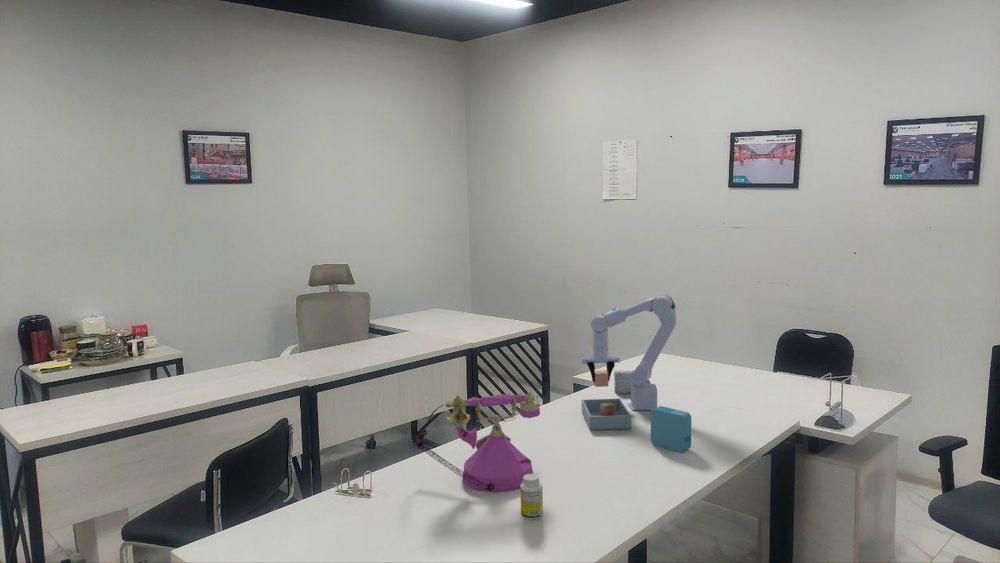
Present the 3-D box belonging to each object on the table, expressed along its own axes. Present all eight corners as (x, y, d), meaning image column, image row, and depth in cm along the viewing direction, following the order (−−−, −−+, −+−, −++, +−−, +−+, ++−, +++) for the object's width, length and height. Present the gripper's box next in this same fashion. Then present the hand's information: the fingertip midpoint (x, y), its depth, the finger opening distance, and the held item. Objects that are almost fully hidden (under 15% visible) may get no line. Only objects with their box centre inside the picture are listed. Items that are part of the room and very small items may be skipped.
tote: (619, 411, 239) (619, 398, 238) (631, 429, 220) (631, 415, 219) (581, 412, 239) (581, 399, 238) (589, 430, 220) (589, 416, 219)
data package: (691, 449, 201) (691, 412, 200) (684, 453, 198) (684, 416, 197) (657, 440, 210) (657, 405, 208) (650, 444, 206) (650, 408, 205)
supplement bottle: (529, 508, 165) (529, 470, 164) (547, 514, 162) (546, 475, 160) (516, 516, 161) (515, 477, 160) (534, 523, 157) (533, 483, 156)
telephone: (532, 459, 197) (531, 379, 194) (551, 490, 175) (550, 402, 172) (416, 470, 191) (412, 388, 188) (420, 504, 169) (416, 413, 166)
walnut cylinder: (610, 421, 227) (609, 401, 226) (618, 425, 223) (618, 405, 222) (598, 423, 225) (597, 404, 224) (606, 427, 221) (605, 408, 220)
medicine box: (633, 390, 265) (633, 370, 264) (634, 393, 261) (634, 373, 260) (614, 390, 266) (614, 370, 265) (615, 393, 261) (615, 373, 260)
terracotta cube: (606, 382, 252) (605, 370, 251) (608, 386, 247) (608, 373, 246) (593, 383, 252) (593, 370, 251) (595, 386, 247) (595, 374, 246)
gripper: (617, 343, 252) (617, 377, 253) (580, 344, 251) (580, 378, 253) (620, 347, 245) (621, 382, 246) (582, 348, 244) (583, 383, 246)
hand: (600, 380), depth 249 cm, fingers closed on terracotta cube, 5 cm apart
